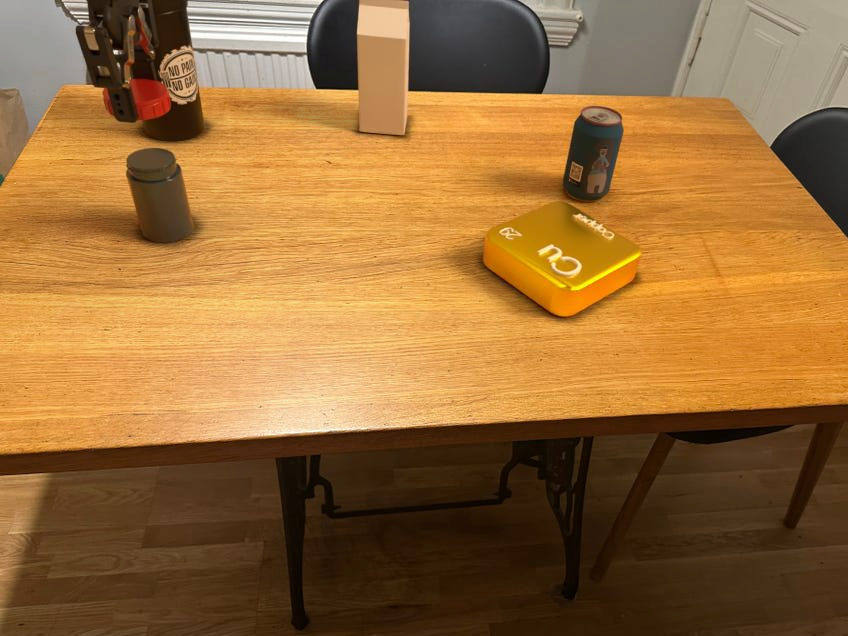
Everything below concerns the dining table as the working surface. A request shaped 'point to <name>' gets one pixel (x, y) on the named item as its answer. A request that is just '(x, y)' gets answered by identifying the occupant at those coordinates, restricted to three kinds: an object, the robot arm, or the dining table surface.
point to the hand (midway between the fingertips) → (138, 106)
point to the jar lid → (145, 98)
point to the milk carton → (383, 65)
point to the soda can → (593, 153)
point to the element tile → (561, 257)
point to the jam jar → (159, 195)
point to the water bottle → (175, 74)
